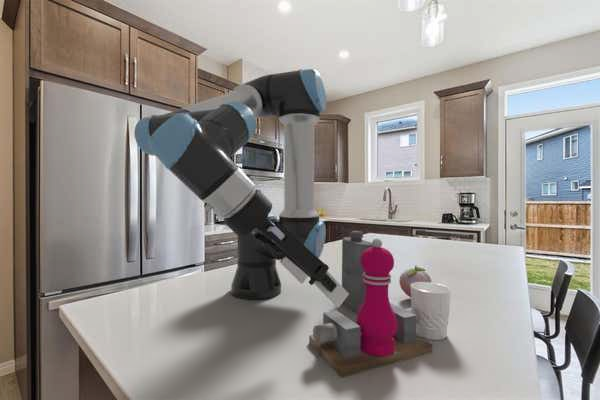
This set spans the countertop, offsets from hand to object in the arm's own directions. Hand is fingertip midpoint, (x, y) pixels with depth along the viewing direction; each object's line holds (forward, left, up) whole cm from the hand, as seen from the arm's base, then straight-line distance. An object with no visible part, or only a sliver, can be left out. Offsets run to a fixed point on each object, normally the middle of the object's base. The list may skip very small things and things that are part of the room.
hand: (322, 288), depth 52 cm
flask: (-20, +22, -13) cm, 32 cm away
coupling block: (0, +11, -13) cm, 16 cm away
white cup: (0, +27, -13) cm, 30 cm away
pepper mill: (+3, +10, -11) cm, 15 cm away
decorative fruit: (-17, +40, -13) cm, 45 cm away
